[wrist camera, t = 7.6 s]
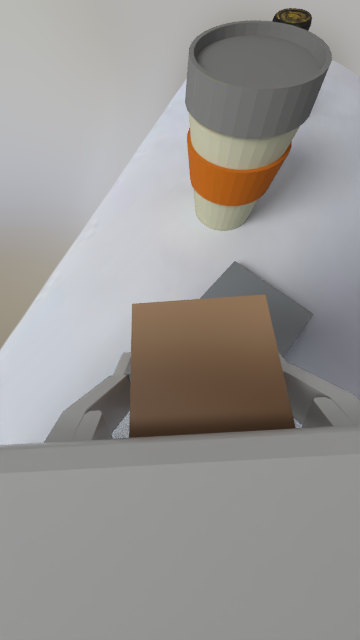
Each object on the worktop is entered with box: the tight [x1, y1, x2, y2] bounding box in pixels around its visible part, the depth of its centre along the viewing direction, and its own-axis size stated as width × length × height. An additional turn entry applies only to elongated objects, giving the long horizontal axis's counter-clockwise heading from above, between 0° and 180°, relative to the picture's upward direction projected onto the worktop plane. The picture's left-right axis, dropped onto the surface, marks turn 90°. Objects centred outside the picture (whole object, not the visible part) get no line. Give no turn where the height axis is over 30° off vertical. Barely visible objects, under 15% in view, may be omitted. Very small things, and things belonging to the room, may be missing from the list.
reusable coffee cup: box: [185, 21, 332, 231], centre depth 22 cm, size 12×13×15 cm
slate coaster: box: [200, 261, 313, 357], centre depth 22 cm, size 12×12×2 cm
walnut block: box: [129, 295, 295, 438], centre depth 10 cm, size 4×4×9 cm
